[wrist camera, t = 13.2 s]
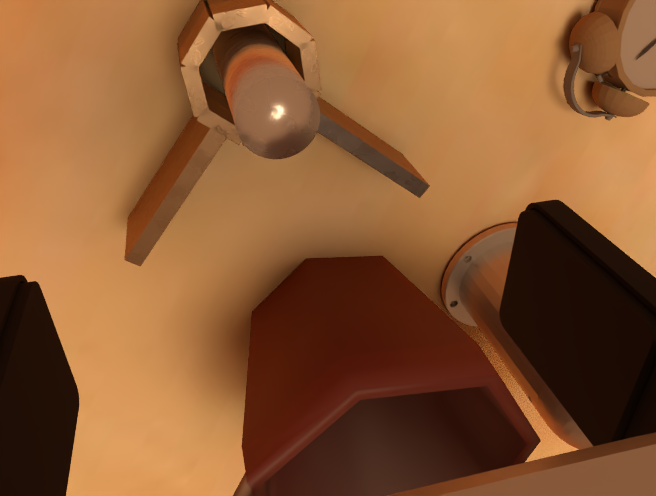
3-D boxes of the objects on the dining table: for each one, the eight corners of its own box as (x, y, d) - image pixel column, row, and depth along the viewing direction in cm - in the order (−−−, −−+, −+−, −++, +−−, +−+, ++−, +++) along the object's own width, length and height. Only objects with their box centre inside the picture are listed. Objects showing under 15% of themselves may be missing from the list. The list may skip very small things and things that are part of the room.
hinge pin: (286, 41, 41) (336, 107, 29) (251, 91, 42) (287, 173, 31) (235, 2, 38) (268, 58, 27) (200, 56, 40) (218, 131, 28)
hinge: (429, 119, 47) (461, 148, 42) (291, 291, 53) (305, 334, 48) (222, -38, 37) (233, -23, 32) (83, 197, 43) (74, 239, 38)
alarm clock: (752, 25, 47) (622, 158, 47) (697, 20, 51) (578, 142, 52) (720, -96, 40) (571, 60, 41) (661, -90, 44) (526, 51, 45)
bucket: (172, 364, 55) (182, 653, 34) (287, 177, 47) (388, 411, 27) (369, 414, 66) (462, 652, 46) (487, 271, 58) (663, 483, 38)
